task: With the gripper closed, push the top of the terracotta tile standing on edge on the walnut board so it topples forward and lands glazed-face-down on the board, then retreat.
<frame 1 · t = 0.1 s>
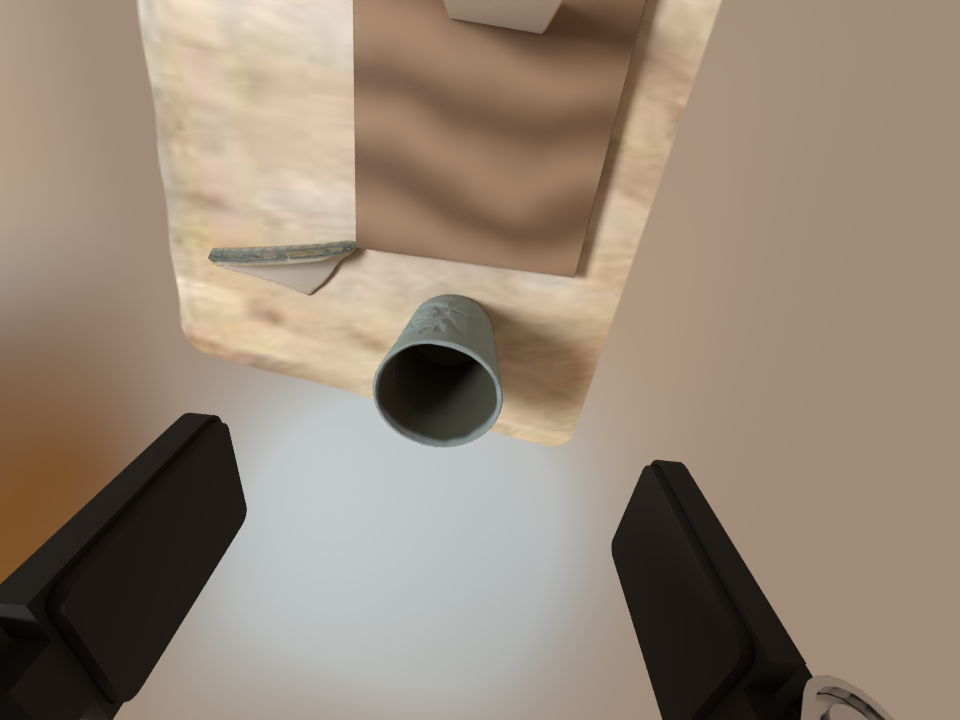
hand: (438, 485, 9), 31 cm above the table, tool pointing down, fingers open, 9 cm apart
board: (485, 110, 32), on the table
ceramic fragment: (289, 253, 39), on the table
grey green cup: (448, 332, 42), on the table
tile: (498, 8, 28), point 1 cm above the table, touching board
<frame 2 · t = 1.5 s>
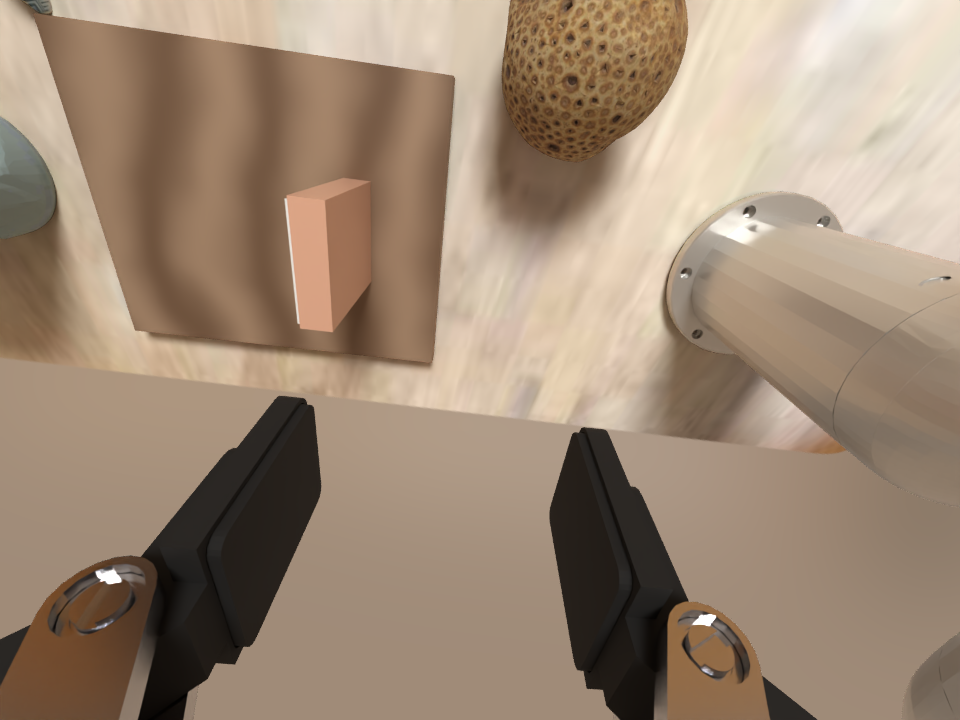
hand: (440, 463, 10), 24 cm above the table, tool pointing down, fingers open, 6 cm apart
board: (280, 217, 30), on the table
natural sponge: (566, 76, 26), on the table
tile: (356, 232, 29), point 1 cm above the table, touching board
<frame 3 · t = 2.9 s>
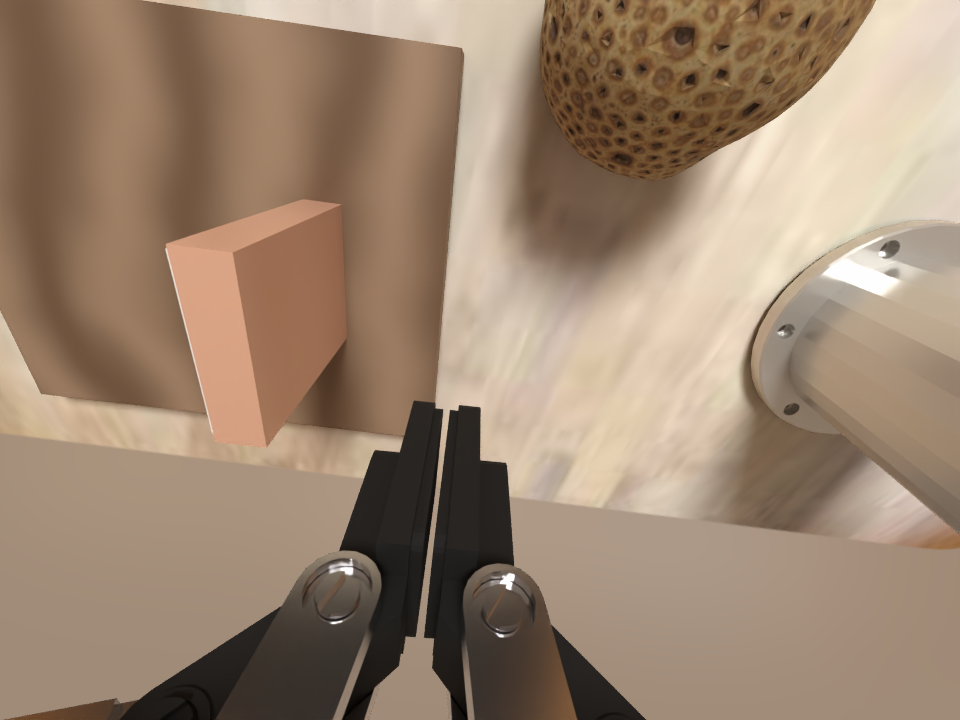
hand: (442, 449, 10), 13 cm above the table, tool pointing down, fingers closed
board: (222, 251, 22), on the table
natural sponge: (630, 51, 17), on the table
tile: (324, 274, 21), point 1 cm above the table, touching board
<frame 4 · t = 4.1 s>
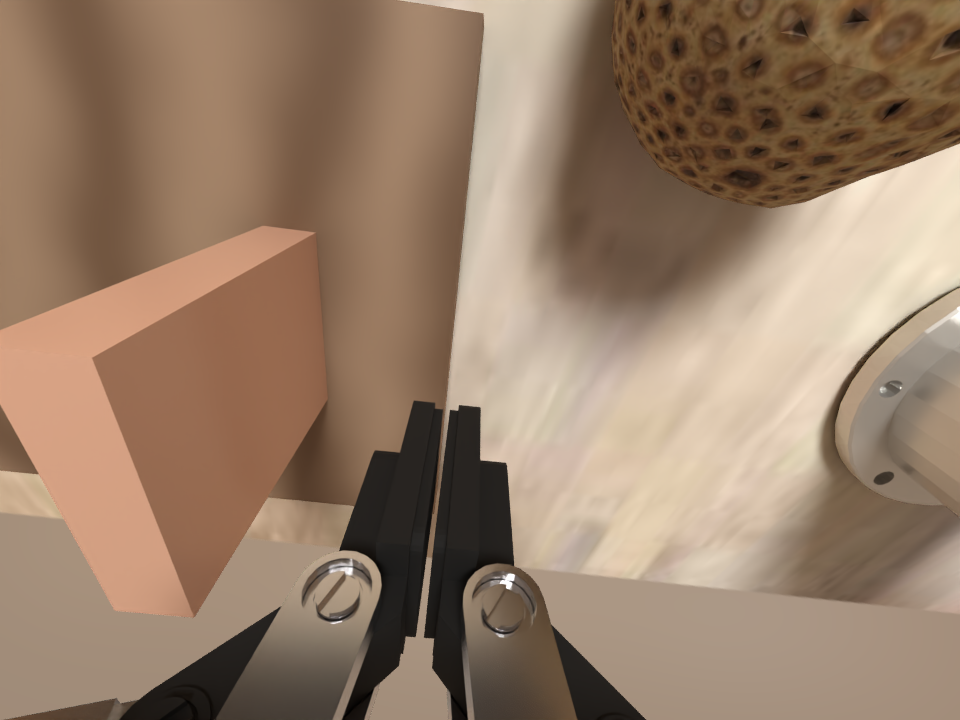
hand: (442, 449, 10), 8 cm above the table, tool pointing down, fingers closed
board: (164, 289, 17), on the table
natural sponge: (715, 21, 12), on the table
tile: (296, 321, 16), point 1 cm above the table, touching board
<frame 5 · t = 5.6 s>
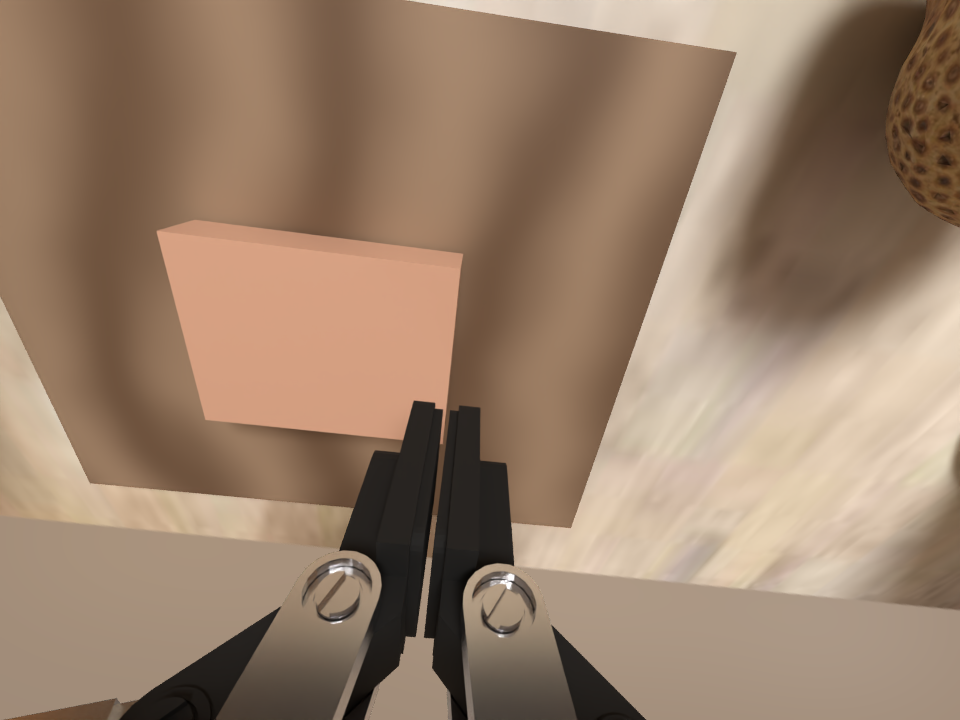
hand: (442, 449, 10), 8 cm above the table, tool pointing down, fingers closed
board: (337, 311, 17), on the table
natural sponge: (934, 56, 13), on the table
tile: (452, 353, 15), point 2 cm above the table, tilted 90°, touching board
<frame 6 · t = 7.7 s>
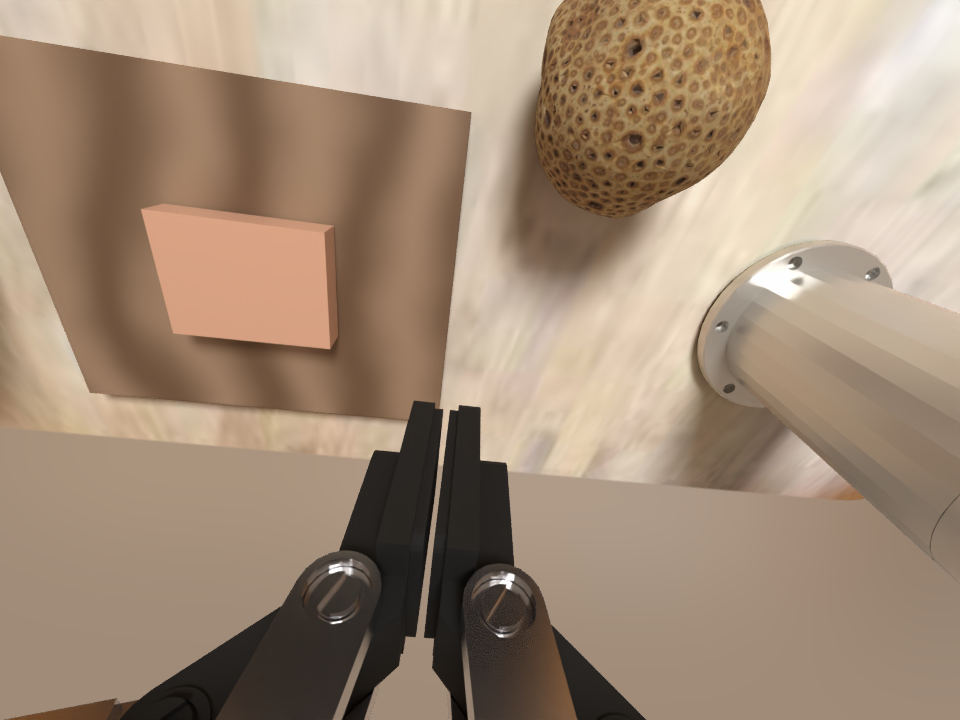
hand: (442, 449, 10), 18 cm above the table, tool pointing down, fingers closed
board: (262, 266, 25), on the table
natural sponge: (599, 112, 22), on the table
tile: (332, 289, 24), point 2 cm above the table, tilted 90°, touching board
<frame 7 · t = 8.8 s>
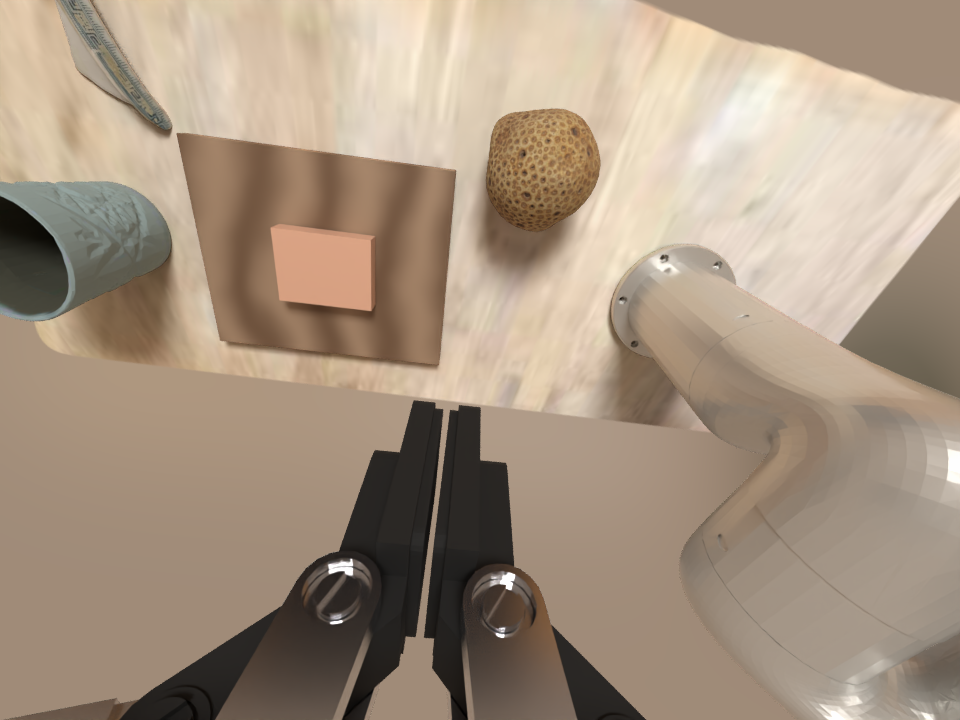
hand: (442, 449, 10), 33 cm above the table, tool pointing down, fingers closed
board: (330, 260, 41), on the table
ceramic fragment: (113, 37, 33), on the table
grey green cup: (126, 225, 40), on the table
natural sponge: (532, 168, 37), on the table
tile: (373, 274, 39), point 2 cm above the table, tilted 90°, touching board
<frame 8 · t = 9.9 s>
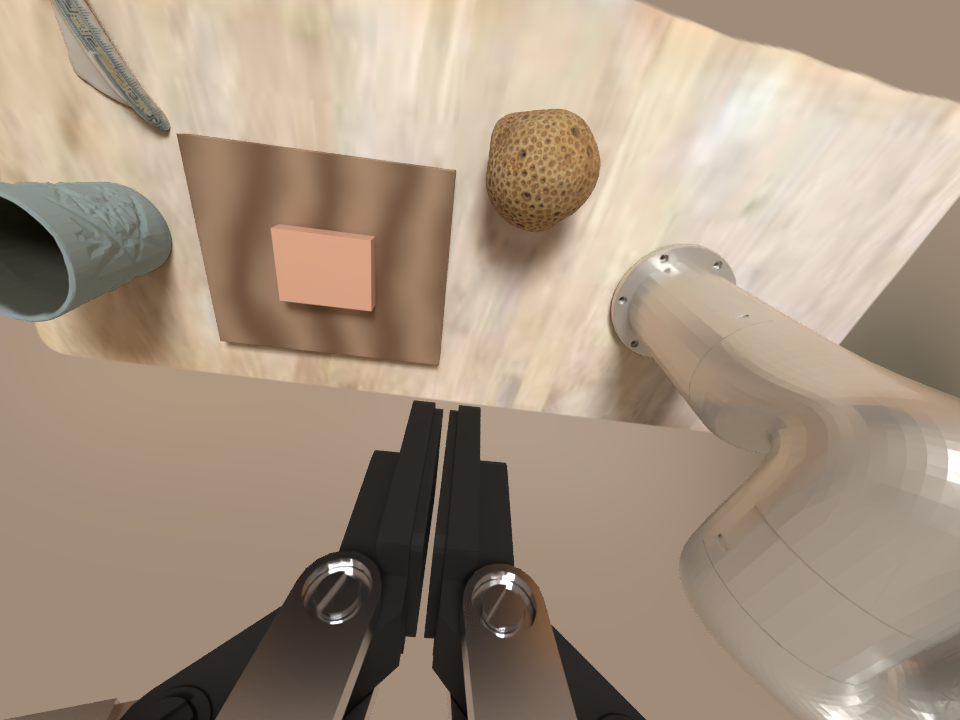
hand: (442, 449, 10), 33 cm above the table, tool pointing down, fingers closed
board: (330, 261, 41), on the table
ceramic fragment: (110, 39, 33), on the table
grey green cup: (126, 225, 40), on the table
natural sponge: (532, 168, 37), on the table
tile: (373, 274, 40), point 2 cm above the table, tilted 90°, touching board
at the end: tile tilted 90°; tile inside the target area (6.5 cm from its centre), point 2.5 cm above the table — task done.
